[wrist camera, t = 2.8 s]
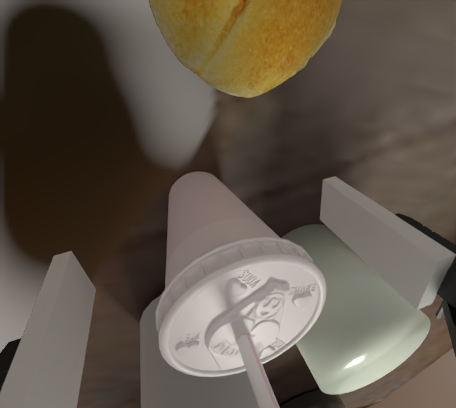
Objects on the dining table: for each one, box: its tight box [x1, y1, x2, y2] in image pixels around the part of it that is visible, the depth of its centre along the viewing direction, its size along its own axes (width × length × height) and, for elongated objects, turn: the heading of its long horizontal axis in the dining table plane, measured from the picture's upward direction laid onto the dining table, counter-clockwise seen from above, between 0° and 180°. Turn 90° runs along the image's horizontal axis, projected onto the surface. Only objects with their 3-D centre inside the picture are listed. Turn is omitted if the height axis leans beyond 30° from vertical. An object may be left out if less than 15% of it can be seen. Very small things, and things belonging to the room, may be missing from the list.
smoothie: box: [155, 171, 326, 408], centre depth 11 cm, size 6×6×14 cm
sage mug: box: [281, 224, 430, 394], centre depth 20 cm, size 10×8×9 cm
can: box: [140, 294, 259, 408], centre depth 17 cm, size 8×8×12 cm
